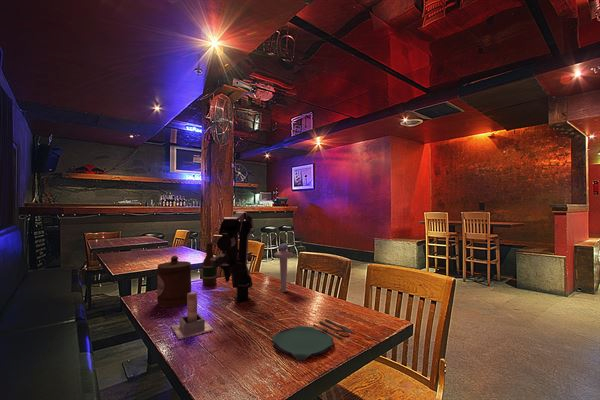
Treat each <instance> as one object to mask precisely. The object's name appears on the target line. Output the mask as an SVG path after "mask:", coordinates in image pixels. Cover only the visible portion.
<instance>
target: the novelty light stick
mask: <svg viewBox="0 0 600 400" xmlns="http://www.w3.org/2000/svg"><path fill="white" fill-rule="evenodd" d="M277 248H278V250H279V251H277V252H274V255H273V256H274V257H275V258H278V259H279V272H280V273H279V275H280V291H281V292H282V293H285V292H287V280H288V279H287V275H288V274H287V273H288V259H289V258H292V257H293V256H294V253H293V252H291V251H288V249H289V246H288V244H286V243H281V244H279V245H278V247H277Z"/></svg>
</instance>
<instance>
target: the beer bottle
mask: <svg viewBox="0 0 600 400" xmlns="http://www.w3.org/2000/svg"><path fill="white" fill-rule="evenodd" d="M213 244H214V243H213V242H207V243H206V244H205V245H206V250H205V251H206V254H205V258H204V259H203V261H202V286H205V287H212V286H216V284H217V276H218V275H217V272H218V271H217V268H218V267H217V268H215V267H213V266H212V264H211V261H210V259H211V258H213V257H215V256H214V250H213V249H214V248H213Z"/></svg>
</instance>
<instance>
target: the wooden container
mask: <svg viewBox="0 0 600 400" xmlns="http://www.w3.org/2000/svg"><path fill="white" fill-rule="evenodd" d="M191 264H192V263H191V261H182V260H180V261H179V256H177V255H173V256H171V257H170V261H168V262H162V263H160V264H158V265H157V283H156V284H157V285H156V287H157V289H156V290H157V299H156V301H157V303H158V304H157V306H158V305H159V306H158V307H160V306H162V307H161V308H165V307H170V308H177V307H178V308H179V307H181V306H186V305H187V294H188V293H191V292H192V272H191V271H192V269H191V268H192V265H191Z"/></svg>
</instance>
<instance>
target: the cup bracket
mask: <svg viewBox="0 0 600 400" xmlns="http://www.w3.org/2000/svg"><path fill="white" fill-rule="evenodd" d="M171 327H172V328H171V330H172V331H173V333H174V332H175V333H174V335H175V334H176V335H175V336H176V338H177V337H178V338H177V340H178V339H181V340H184V339H183V338H185V339H187V338H186V337H189V338H191V337H190V336H192V337H196V336H199V334H200V335H203V334H202V333H204V334H206V332H208V333H211V332H213V331H214V328H213V327H212V326H211V325H210V324H209V322H208V321H207V320H206V319H205V318H204V317H203V316H202V315H201V314H200V313H197V321H193V322H188V323H187V315H185V316H181V317H179V323H177V324H173V325H172V324H171ZM210 331H211V332H210ZM195 335H196V336H195Z"/></svg>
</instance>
